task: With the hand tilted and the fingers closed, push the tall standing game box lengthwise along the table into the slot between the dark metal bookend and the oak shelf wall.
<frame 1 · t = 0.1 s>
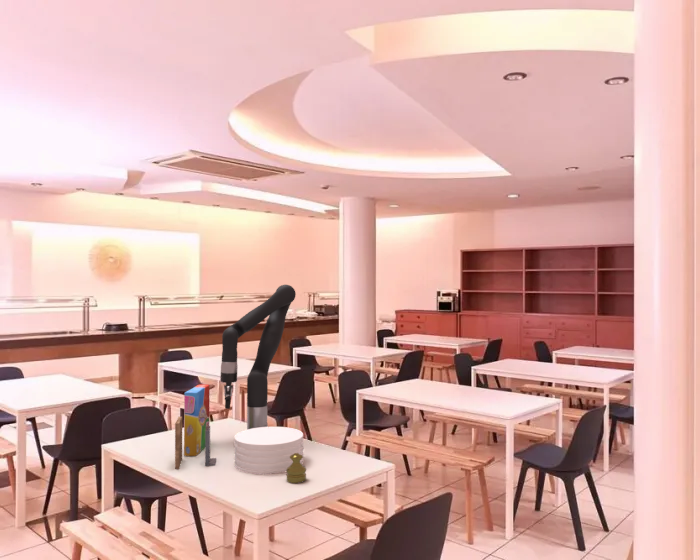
hand: (227, 406, 255), 17 cm above the table, tool pointing down, fingers open, 8 cm apart
oak shelf wall: (178, 464, 227), on the table
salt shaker: (296, 480, 208), on the table
game box: (197, 449, 247), on the table
plate stack: (269, 463, 229), on the table
dark metal bookend: (207, 462, 229), on the table
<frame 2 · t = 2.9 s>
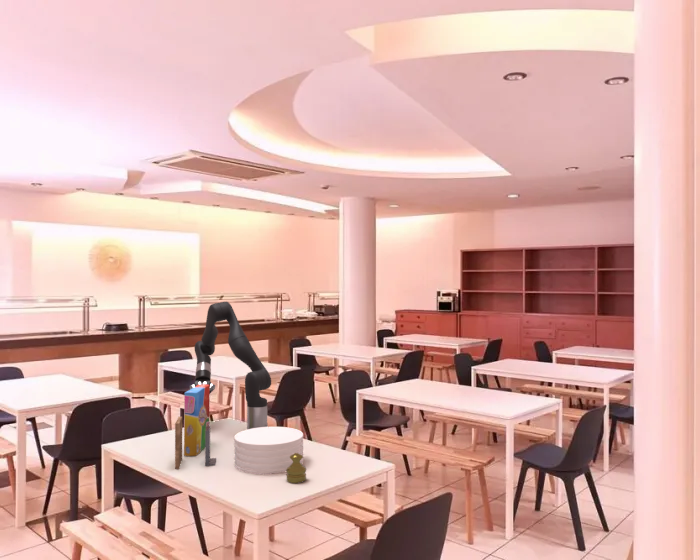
hand: (201, 402, 273), 16 cm above the table, tool tilted 45°, fingers closed
nothing on the table moved.
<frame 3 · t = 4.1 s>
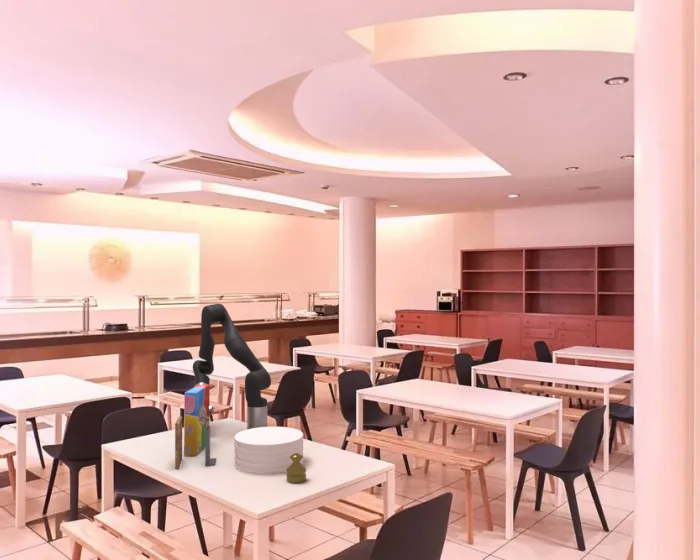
hand: (199, 425, 262), 7 cm above the table, tool tilted 45°, fingers closed
nothing on the table moved.
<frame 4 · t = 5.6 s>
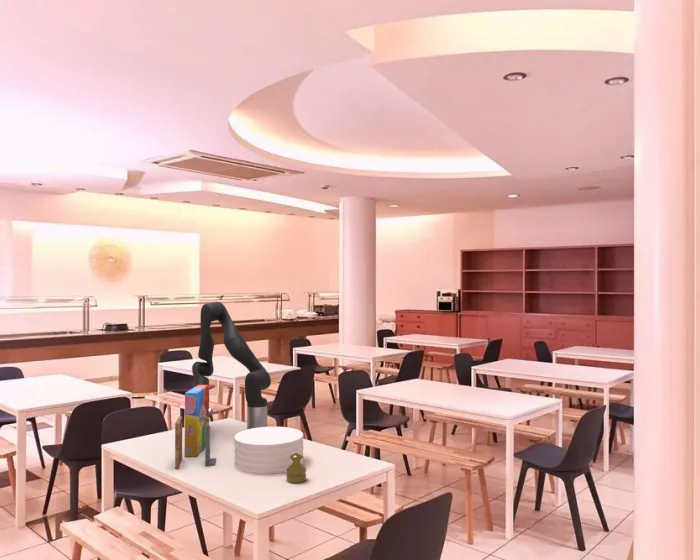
hand: (198, 428, 257), 7 cm above the table, tool tilted 45°, fingers closed
game box: (197, 450, 247), on the table, touching gripper
everything else where it was.
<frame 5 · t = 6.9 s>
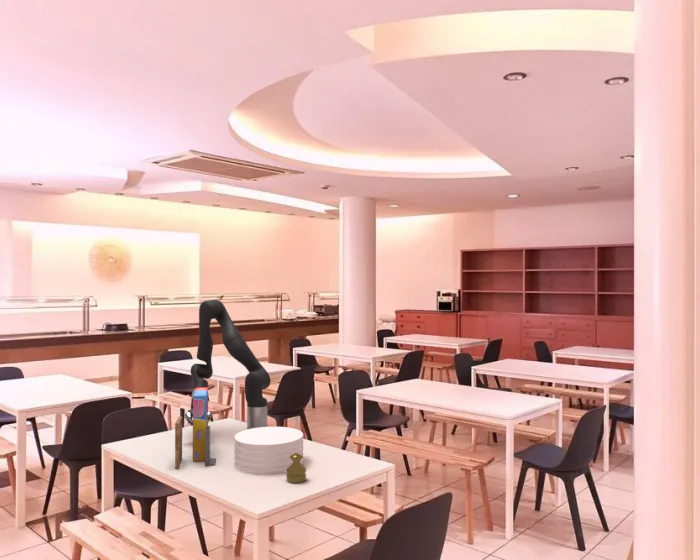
hand: (197, 432, 250), 7 cm above the table, tool tilted 45°, fingers closed
game box: (200, 454, 240), on the table, touching gripper
everything else where it was.
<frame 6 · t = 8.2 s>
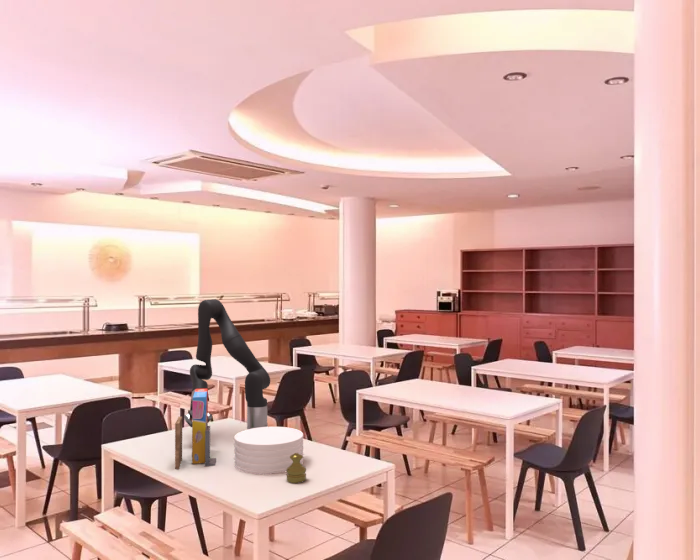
hand: (196, 434, 247), 7 cm above the table, tool tilted 45°, fingers closed
game box: (200, 456, 237), on the table, touching gripper
everything else where it was.
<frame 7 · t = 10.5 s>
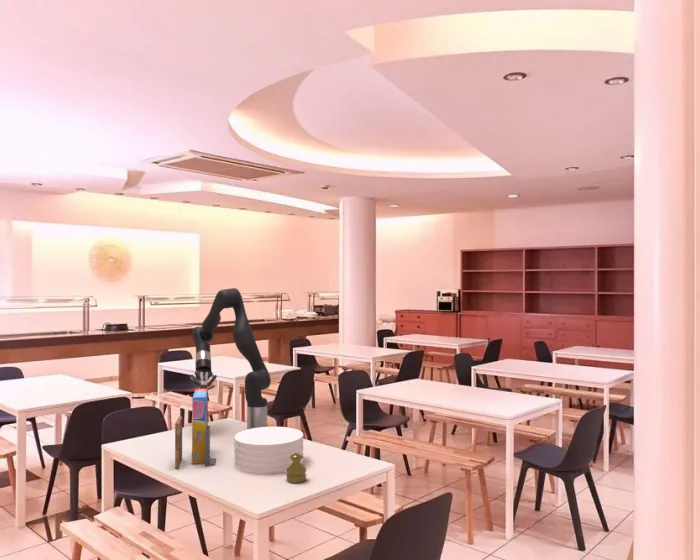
hand: (203, 393, 265), 21 cm above the table, tool tilted 40°, fingers closed
game box: (200, 457, 237), on the table
everything else where it was.
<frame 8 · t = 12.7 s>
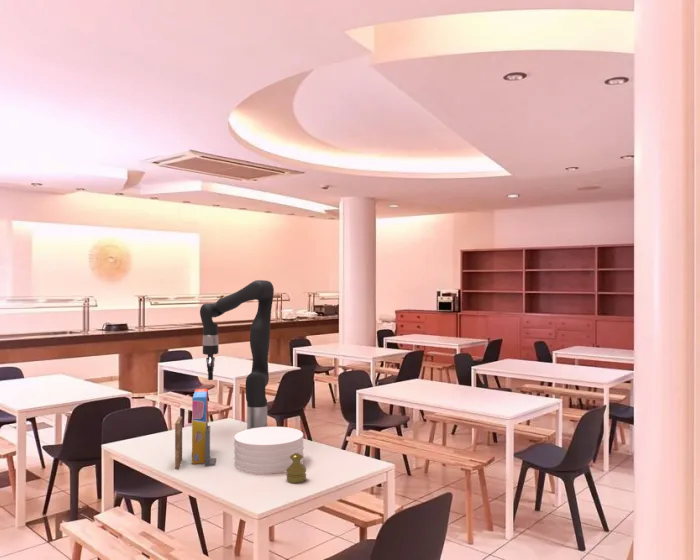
hand: (210, 379, 271), 27 cm above the table, tool pointing down, fingers closed
nothing on the table moved.
at the end: game box inside the target area (2.3 cm from its centre), on the table; game box tilted 0° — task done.
